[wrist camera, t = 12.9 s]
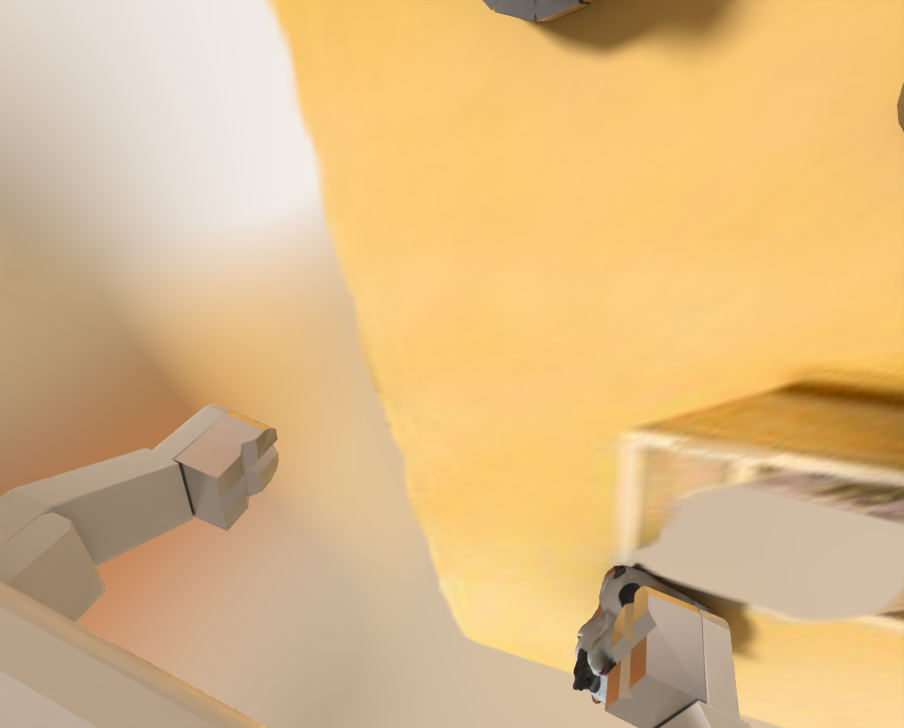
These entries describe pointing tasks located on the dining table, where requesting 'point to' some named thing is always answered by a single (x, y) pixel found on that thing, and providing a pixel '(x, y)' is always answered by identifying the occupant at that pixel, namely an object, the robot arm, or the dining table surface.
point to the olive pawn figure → (901, 108)
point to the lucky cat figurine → (611, 627)
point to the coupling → (537, 8)
